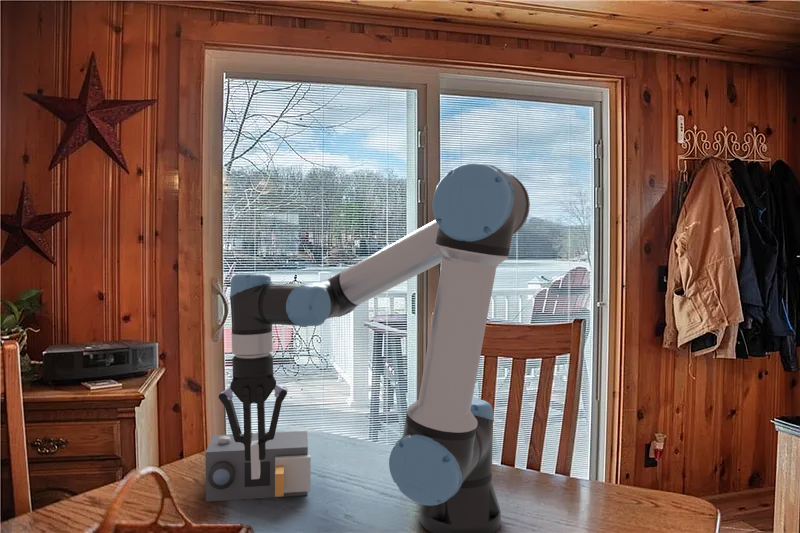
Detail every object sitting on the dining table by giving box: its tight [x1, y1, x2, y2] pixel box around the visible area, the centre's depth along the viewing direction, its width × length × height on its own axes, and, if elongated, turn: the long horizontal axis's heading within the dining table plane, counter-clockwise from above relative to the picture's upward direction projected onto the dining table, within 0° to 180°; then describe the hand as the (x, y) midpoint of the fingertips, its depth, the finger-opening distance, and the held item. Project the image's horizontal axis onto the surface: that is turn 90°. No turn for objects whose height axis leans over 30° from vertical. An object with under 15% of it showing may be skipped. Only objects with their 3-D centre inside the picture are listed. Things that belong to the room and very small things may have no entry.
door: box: [274, 454, 312, 498], centre depth 114 cm, size 6×7×7 cm
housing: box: [205, 430, 309, 503], centre depth 120 cm, size 12×20×11 cm, turn 100°
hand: (255, 476), depth 111 cm, fingers closed
